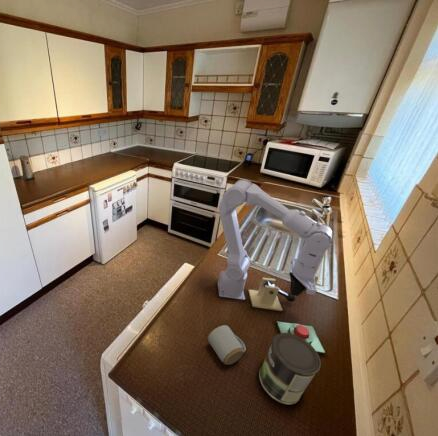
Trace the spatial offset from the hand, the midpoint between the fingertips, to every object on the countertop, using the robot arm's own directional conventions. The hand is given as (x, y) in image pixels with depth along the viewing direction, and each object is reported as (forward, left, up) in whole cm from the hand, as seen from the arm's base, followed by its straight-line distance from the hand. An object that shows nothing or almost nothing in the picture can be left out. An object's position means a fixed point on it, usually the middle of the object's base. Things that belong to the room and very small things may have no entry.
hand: (294, 294), depth 79 cm
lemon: (+13, +17, -11) cm, 24 cm away
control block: (+1, -9, -10) cm, 14 cm away
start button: (+1, -9, -8) cm, 12 cm away
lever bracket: (-6, +5, -10) cm, 13 cm away
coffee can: (-9, -24, -11) cm, 27 cm away
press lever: (-2, +5, -6) cm, 8 cm away
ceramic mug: (-22, -17, -11) cm, 29 cm away
